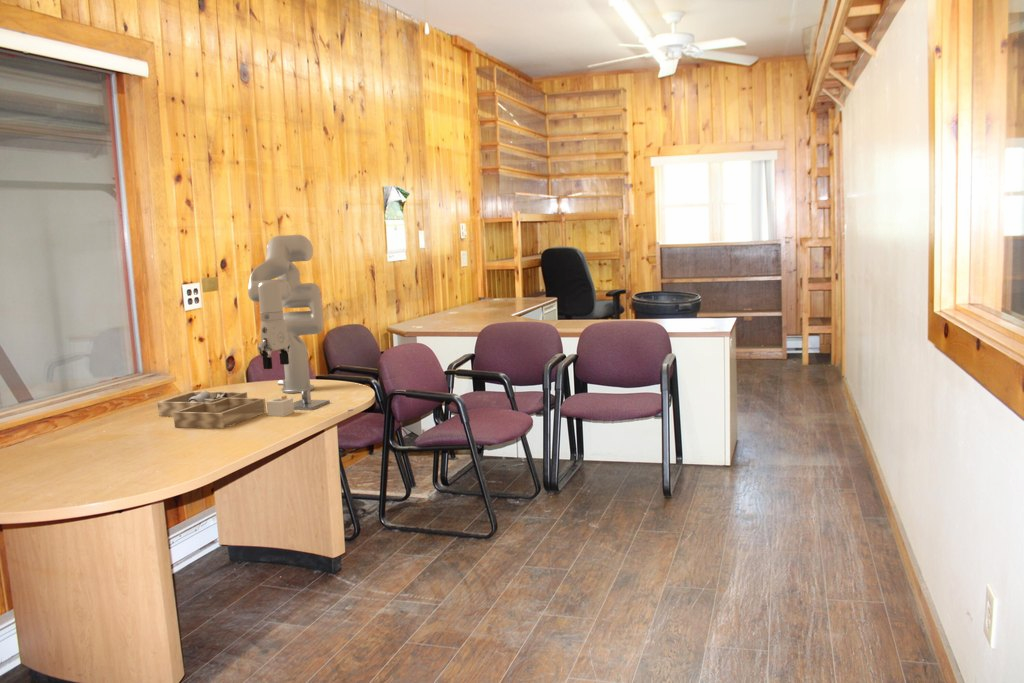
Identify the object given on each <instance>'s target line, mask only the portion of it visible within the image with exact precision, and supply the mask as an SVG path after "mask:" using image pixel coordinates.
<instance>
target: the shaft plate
mask: <svg viewBox="0 0 1024 683" xmlns="http://www.w3.org/2000/svg"><path fill="white" fill-rule="evenodd" d="M300 393H301V399H299V400H295V401H293V405H294V411H296V410H297V411H298V410H301V411H313V410H315V409H318V408H320V407H323V406H326V405H328V404H331V403H330V402H331V401H330V399H312V398H311V397H312V395H311V391H309V390H305V391H301V392H300Z"/></svg>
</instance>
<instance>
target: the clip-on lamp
mask: <svg viewBox="0 0 1024 683" xmlns="http://www.w3.org/2000/svg"><path fill="white" fill-rule="evenodd" d="M200 392H201V393H200V394H198V395H197V396H193V397H191V398H190V399H189V401H188V402H201V403H204V402H205V401H206V402H208V401H211V400H214V399H217V398H226V395H227V392H228V391H225V392H226V393H225V394H222V395H219V394H218V393H217V394H216V397H215V398H214V399H208V398H209V397H210V394H209V392H210V391H207V390H202V391H200Z"/></svg>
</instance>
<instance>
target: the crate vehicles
mask: <svg viewBox="0 0 1024 683" xmlns="http://www.w3.org/2000/svg"><path fill="white" fill-rule="evenodd" d="M223 399H226V398H217V399H214V400H211V401H208V402H205V403H213V402H216V401H220V400H223ZM205 403H201V404H198V405H195V406H192V407H189V408H186V409H183V410H180V411H176V412H173V415H174V416H173V422H174V428H189V429H190V428H191V429H215V428H217V429H218V428H219V429H218V430H221V429H225V427H226V428H228V427H231V426H234V425H236V424H239V423H241V422H245V421H247V420H249V418H250V419H252V418H255V417H258V416H260V415H262V414H265V412H266V413H267V404H266V399H265V398H264V397H263V398H262V397H261V398H260V397H247V398H229V406H230V410H227V411H225V412H222V413H206V410H205ZM257 415H258V416H257ZM233 424H234V425H233ZM230 425H231V426H230ZM217 429H216V430H217Z"/></svg>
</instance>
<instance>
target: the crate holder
mask: <svg viewBox="0 0 1024 683" xmlns="http://www.w3.org/2000/svg"><path fill="white" fill-rule="evenodd" d="M201 392H202V391H191V392H187V393H184V394H181V395H177V396H174V397H171V398H166V399H163V400H160V401H157V411H158V416H159V417H174V415H173V412H176V411H180V410H183V409H186V408H189V407H192V406H195V405H198V404H201V402H188V401H189V399H190V398H191V397H193V396H197V395H198V394H200V393H201ZM208 392H209V394H210V397H209V398H208V399H214V398H215V397H216V394H217V393H218V394H219V395H222V394H225V393H226V392H227V395H226V399H223V400H220V401H216V402H213V403H205V402H206V401H205V402H204V403H205V410H206V413H222V412H225V411H227V410H230V406H229V398H248V392H247V391H245V392H244V391H243V392H240V391H239V392H238V391H208Z"/></svg>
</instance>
